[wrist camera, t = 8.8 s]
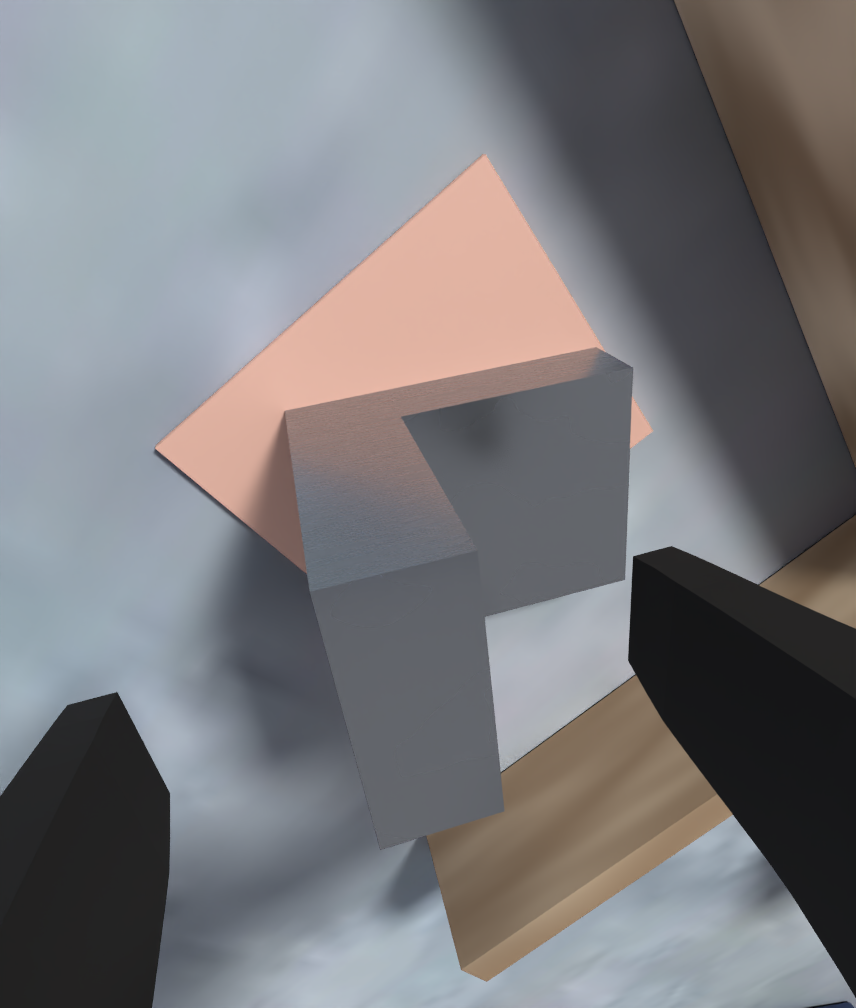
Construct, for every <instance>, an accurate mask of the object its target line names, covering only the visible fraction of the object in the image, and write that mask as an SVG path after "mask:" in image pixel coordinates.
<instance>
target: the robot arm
mask: <svg viewBox="0 0 856 1008" xmlns="http://www.w3.org/2000/svg"><path fill="white" fill-rule="evenodd" d="M628 661H629V663H630V665H631V666H632V668H633V670H634V672H635V674H636V675H637V677H638V679H639V681H640V683H641V684H642V686H643V688H644V690H645V692H646V693H647V695H648V697H649V698H650V700H651V702H652V704H653V705H654V707H655V709H656V710H657V712H658V714H659V715H660V717H661V719H662V720H663V722H664V723H665V725H666V726H667V727H668V729H669V730H670V731H671V733H672V734H673V736H674V737H675V738H676V740H677V741H678V742H679V744H680V745H681V746H682V748H683V749H684V750H685V752H686V753H687V754H688V756H689V757H690V758H691V760H692V761H693V762H694V764H695V765H696V766H697V768H698V769H699V770H700V772H701V773H702V774H703V776H704V777H705V778H706V780H707V781H708V782H709V784H710V785H711V786H712V788H713V789H714V790H715V792H716V793H717V794H718V796H719V797H720V798H721V800H722V801H723V802H724V803H725V805H726V806H727V807H728V809H729V810H730V811H731V813H732V814H733V815H734V817H735V818H736V819H737V821H738V822H739V823H740V825H741V826H742V827H743V829H744V830H745V831H746V833H747V834H748V835H749V837H750V838H751V839H752V840H753V842H754V843H755V844H756V846H757V847H758V848H759V850H760V851H761V852H762V854H763V855H764V856H765V858H766V859H767V860H768V862H769V863H770V865H771V866H772V867H773V869H774V870H775V872H776V873H777V875H778V876H779V877H780V879H781V880H782V882H783V883H784V885H785V886H786V887H787V889H788V890H789V892H790V893H791V895H792V896H793V898H794V899H795V901H796V902H797V904H798V905H799V907H800V909H801V910H802V912H803V913H804V915H805V917H806V918H807V920H808V921H809V923H810V925H811V926H812V928H813V929H814V931H815V933H816V934H817V936H818V937H819V939H820V941H821V942H822V944H823V945H824V947H825V948H826V950H827V952H828V953H829V955H830V956H831V958H832V960H833V961H834V963H835V964H836V966H837V968H838V969H839V971H840V972H841V974H842V976H843V977H844V979H845V981H846V982H847V984H848V986H849V987H850V989H851V991H852V992H853V994H854V996H855V997H856V629H855V628H853V627H851V626H848V625H846V624H844V623H841V622H839V621H837V620H834V619H832V618H830V617H828V616H825V615H823V614H821V613H819V612H816V611H814V610H812V609H810V608H807V607H805V606H803V605H801V604H798V603H796V602H794V601H792V600H790V599H787V598H785V597H783V596H781V595H779V594H777V593H774V592H772V591H770V590H768V589H766V588H764V587H761V586H759V585H757V584H755V583H753V582H751V581H748V580H746V579H744V578H742V577H740V576H738V575H736V574H733V573H731V572H729V571H727V570H725V569H723V568H720V567H718V566H716V565H714V564H712V563H709V562H707V561H705V560H703V559H701V558H698V557H696V556H694V555H691V554H689V553H687V552H684V551H682V550H679V549H677V548H674V547H672V546H671V547H667V548H663V549H659V550H656V551H652V552H648V553H644V554H640V555H637V556H633V571H632V592H631V613H630V633H629V654H628ZM169 858H170V793H169V791H168V789H167V787H166V785H165V783H164V781H163V779H162V777H161V775H160V773H159V771H158V769H157V768H156V766H155V764H154V762H153V760H152V758H151V756H150V754H149V752H148V750H147V748H146V746H145V744H144V743H143V741H142V739H141V737H140V735H139V733H138V731H137V729H136V727H135V725H134V723H133V721H132V720H131V718H130V716H129V714H128V712H127V710H126V708H125V706H124V704H123V702H122V700H121V698H120V696H119V695H118V693H117V692H116V693H112V694H108V695H104V696H101V697H97V698H93V699H89V700H85V701H82V702H78V703H74V704H70V705H67V707H66V708H65V709H64V710H63V712H62V713H61V714H60V716H59V717H58V718H57V719H56V721H55V722H54V723H53V725H52V726H51V727H50V729H49V730H48V732H47V733H46V734H45V736H44V737H43V738H42V740H41V741H40V742H39V744H38V745H37V747H36V748H35V749H34V751H33V752H32V754H31V755H30V756H29V758H28V759H27V760H26V762H25V763H24V765H23V766H22V767H21V769H20V770H19V771H18V773H17V774H16V776H15V777H14V778H13V780H12V781H11V782H10V784H9V785H8V787H7V788H6V789H5V791H4V792H3V793H2V795H1V796H0V1008H152V1003H153V996H154V988H155V981H156V973H157V966H158V958H159V951H160V943H161V935H162V927H163V919H164V912H165V904H166V896H167V887H168V879H169Z"/></svg>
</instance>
